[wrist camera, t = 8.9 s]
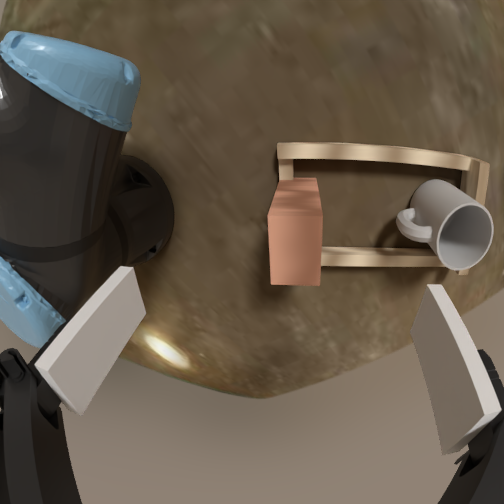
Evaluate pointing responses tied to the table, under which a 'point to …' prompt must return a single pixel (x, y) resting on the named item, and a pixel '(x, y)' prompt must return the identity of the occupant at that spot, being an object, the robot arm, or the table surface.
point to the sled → (311, 218)
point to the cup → (448, 224)
